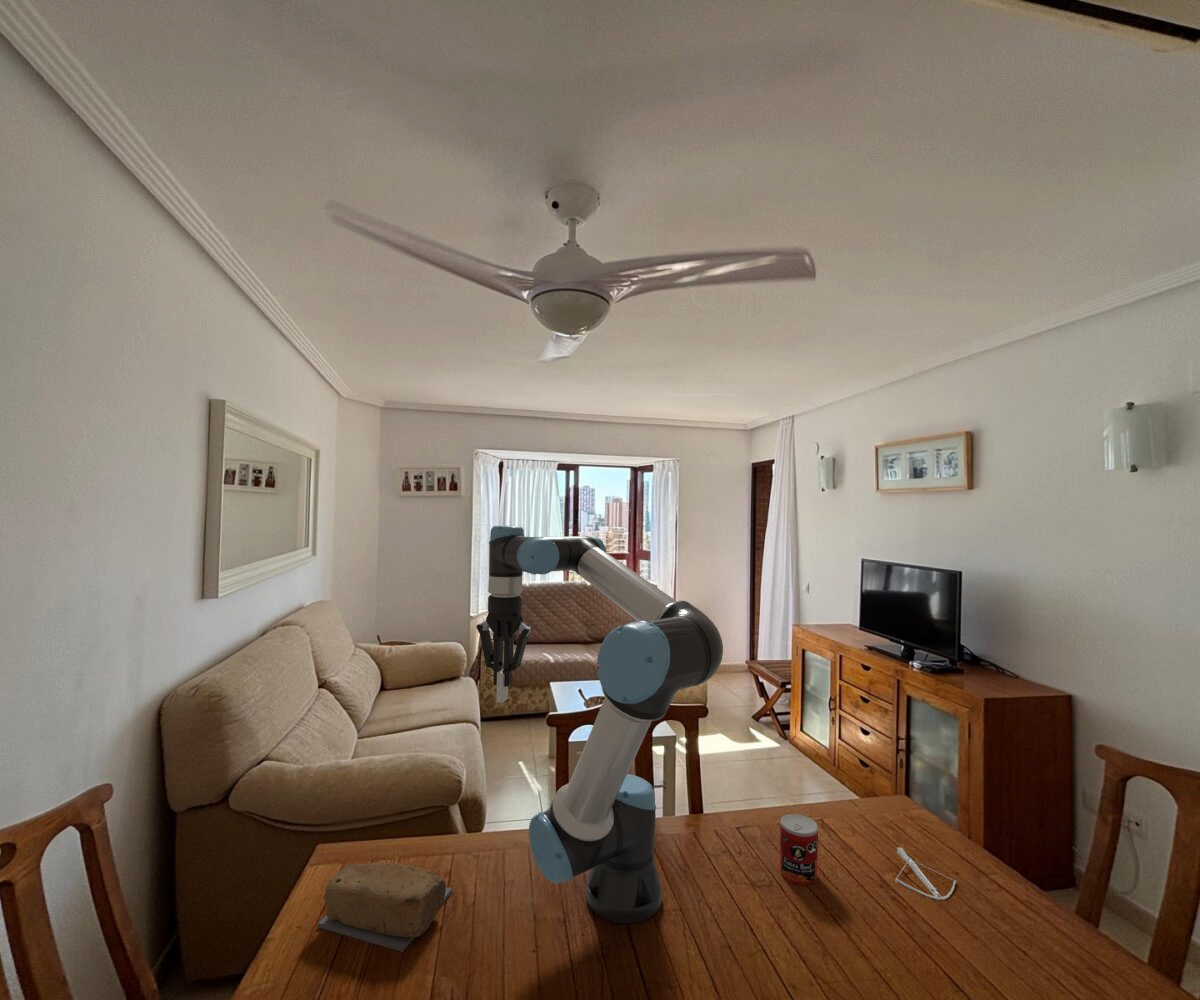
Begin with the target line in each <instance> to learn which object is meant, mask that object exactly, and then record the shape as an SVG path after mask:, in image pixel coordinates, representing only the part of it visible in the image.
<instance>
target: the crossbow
mask: <svg viewBox="0 0 1200 1000" xmlns="http://www.w3.org/2000/svg"><path fill="white" fill-rule="evenodd" d="M896 853H897V854H898V855H899V857H901V859H902V860H903V861H904V862H905V865H904V866H903V868H902V869H901V870H900V871H899V873H898V875H897V877H895V882H896V883H897V884H899V885H901V886H903V887H905V888H907V889H909V890H910V891H913V892H916V893H918V894H920V895H922V896H925V897H927V898H929V899H933V900H936V901H945V900H947V899H949V898H950V897H951V896H950V895H952V894H953V892H954V890H955V887H956V885H957V880H955V879H953V878H951V877H949V876H946V875H944V874H942V873H940V872H938V871H936V870H933V869H932V868H930V867H928V866H925V865H923V864H921V863H918V862H917V861H915V860H913V859H912V858H911V857H910V856H909V855H908V854H907V852H906V851H905V850H904V848H903V847H896ZM917 864H918V865H919V866H922V867H924V868H927V869H929V870H930V871H933V872H935V873H937V874H939V875H942V876H943V877H946V878H948V879H950V880H952V881H953V883H952V887H951V888H950V891H949V892H948V893H947V894H946V895H943V896H941V893H939V892H938V890H937V887H934V885H933V884H932V883H931V881H930V880H929V879H928V878H927V877H926V875H925V874H924V873H923V871H922V870H921V869H920V867H919V866H918V865H917ZM907 865H908V866H909V867H910V869H911V870H912V871H913V872H914V874H915V875H916V876H917V877H918V879H920V881H921V882H922V883H923V884H924V885H925V887H926V888H927V889H928V890H929V891H930V893H932V895H931V894H928V893H925V892H924V891H921V890H919V889H917V888H915V887H913V886H911V885H909V884H907V883H905V882H903V881H902V880H900V879H898V878H899V876H900V875H901V873H902V871H904V869H905V867H906V866H907Z"/></svg>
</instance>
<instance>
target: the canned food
mask: <svg viewBox="0 0 1200 1000" xmlns="http://www.w3.org/2000/svg"><path fill="white" fill-rule="evenodd" d="M818 827H819V826H818V823H817V822H816V821H815V820H814V819H812V818H811V817H808V816H805V815H803V814H800V813H799V814H796V813H788V814H785V815H783V816H781V819H780V828H779V830H780V834H779V871H780V873H781V876H782V877H783V878H784V879H785V880H786V881H788V882H789V883H792V884H795V885H798V886H811V885H812V884H814V883H815V882H816V879H817V877H818V852H819V851H818V848H819V847H818V846H819V828H818Z"/></svg>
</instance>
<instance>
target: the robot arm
mask: <svg viewBox="0 0 1200 1000" xmlns="http://www.w3.org/2000/svg"><path fill="white" fill-rule="evenodd" d="M489 533H490V535H489V536H490V537H489V541H488V545H489V546H488V547H489V548H488V549H489V550H488V554H489V555H488V585H487V586H488V587H487V592H488V593H489V594H490V595H488V596H487V613H488V614H487V615H486V619H485V620H484V621H483V622H481V623H479V624H476V630H477V632H478V634H479V637H480V641H481V642H480V643H481V647H482V653H483V658H484V663H485V667H486V668H488V669H492V670H493V685H494V686H496V695H495V697H496V701H495V702H496V703H504V702H506V701H507V700H508V699H509V687H510V686H511V685H512V684H513V672H514V671H516V670H518V669H519V668H521V666H522V661H523V659H524V655H525V654H524V653H525V650H526V647H527V641H528V638H529V636H530V635H531V633H532V632H533V627H532V626H527V625H526V624H525V622H524V620H523V619H524V618H523V616H522V610H523V608H522V607H523V606H522V603H523V602H522V601H523V597H522V595H520V594H522V593H523V574H524V573H527V574H530V575H547V574H549V573H552V572H565V571H566V572H567V571H572V572H574V573H576V574H577V575H579V576H580V577H581V578H583V580H585V581H586V582H588V583H589V584H590V585H591V586H592V587H594V588H595V589H596V590H598V592H600V593H601V594H602V595H604V597H606V598H607V599H609V600H610V601H611V602H613V603H614V604H615V605H616V606H618V608H620V609H621V610H622V611H624V612H625V613H627V614H628V615H629V616H630V617H631V618H633V619H634V620H636V621H633V622H629V623H627V624H624V625H620V626H617V627H616V628H614V629H612V630H611V631H610V632H609V633H608V634H607V635H606V636H605V638H604V640H603V641H602V643H601V645H600V647H599V650H598V654H597V659H596V665H599V669H598V670H597V676H598V681H599V683H600V686H601V690H602V694H603V696H604V699H603V701H602V704H601V707H600V708H599V712H598V713H597V716H596V719H595V720H594V724H593V725H592V728H591V731H590V733H589V735H588V738H587V739H586V743H585V744H584V747H583V750H582V752H581V755H580V756H579V759H578V761H577V764H576V766H575V768H574V771H573V774H572V775H571V778H570V780H569V783H566V784H565V785H562V786H561V787H560V788H559V789H558V790H557V791H556V793H555V795H554V796H553V799H552V802H551V803H550V807H549V808H548V809H547V810H545V811H539V812H538V813H537V814H535V815H533V817H532V818H531V819H530V822H529V826H528V838H529V843H530V844H529V845H530V849H531V853H532V856H533V859H534V861H535V863H536V866H537V867H538V870H539V871H540V873H541V874H542V875H543V877H544V878H545V879H546V880H547V881H549V882H551V883H552V884H555V885H556V884H558V885H559V884H562V883H565V882H566V881H567V882H568V881H571V880H573V879H574V878H576V877H578V876H579V875H581V874H584V873H585V872H587V871H589V870H590V872H589V874H588V877H587V881H586V887H585V888H586V890H585V891H586V894H585V895H586V896H585V897H586V901H587V904H588V906H589V908H591V910H592V911H593V912H594V913H595V914H596V915H598V916H600V917H601V918H603V919H605V920H608V921H611V922H614V923H620V924H635V923H639V922H640V923H641V922H643V921H645V920H648V919H649V918H651V917H653V916H654V915H656V913H658V912H659V909H660V908H661V906H662V900H663V898H662V896H663V888H662V883H661V879H660V875H659V872H658V869H657V865H656V861H655V834H656V832H655V831H656V809H657V805H656V792H655V789H654V787H653V786H652V784H650V782H649V781H647V780H645V778H642V777H640V776H637V775H634V774H629V771H630V769H631V767H632V765H633V763H634V761H635V758H636V756H637V753H638V752H639V750H640V748H641V745H642V743H643V741H644V739H645V737H646V734H647V732H648V730H649V728H650V726H651V724H652V722H654V721H655V722H656V721H659V720H661V719H662V718H663V717H665V715H666V714H667V712H668V710H669V707H670V706H671V704H672V702H673V700H674V698H675V695H676V694H677V693H678V692H679V691H681V690H684V689H687V688H692V687H695V686H696V687H697V686H700V685H702V684H705V683H706V682H707V681H708V680H710V679H711V678H712V677H713V676H714V675H715V674H716V672H717V671H718V669H719V668H720V665H721V663H722V660H723V655H724V645H723V639H722V637H721V634H720V632H719V630H718V628H717V626H716V625H715V623H714V622H713V621H712V620H711V619H710V617H708V615H706V614H705V613H704V612H703V611H701V610H700V609H699V608H697V607H696V606H695V605H692V604H691V603H690V602H689V601H686V600H676V599H674V598H673V597H671V596H670V595H668V593H666V592H665V591H663V590H661V589H660V588H658V587H657V586H656V585H655V584H652V583H651V582H650V581H648V580H647V579H645V578H644V577H642V575H640V574H638V573H636V571H634V570H632V569H631V568H630V567H628V566H627V565H625V564H623V562H621V561H619V560H618V559H616V558H615V557H613V556H612V555H611V554H609V553H607V549H606V548H607V547H606V545H605V544H604V541H603V540H602V539H601V538H600V537H597V536H592V535H591V536H590V535H579V536H578V535H576V536H572V535H571V536H525V532H524V528H523V527H522V526H520V525H494V526H492V527H491V529H490V532H489ZM490 631H491V632H490ZM517 632H518V633H519V636H518V639H517V642H516V647H514V646H515V638H516V633H517ZM491 633H492V636H491ZM492 642H493V643H492ZM514 649H515V651H514Z"/></svg>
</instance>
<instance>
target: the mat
mask: <svg viewBox="0 0 1200 1000" xmlns="http://www.w3.org/2000/svg"><path fill="white" fill-rule="evenodd" d="M452 894H453V888H450V887H446V891H445V896H444V900H443V902H442V904H441V906H440V907H439V909H440V908H441V907H442V906H443V904H444V903H445V902H446V901H447V899H448V898H449V897H450V896H451V895H452ZM317 928H319V929H322V930H326V931H330V932H333V933H336V934H339V935H343V936H346V937H349V938H354V939H357V940H360V941H364V942H367V943H370V944H373V945H374V944H375V945H378V946H380V947H381V946H382V947H384V948H389V949H391V950H395V951H399V952H401V953H403V952H404V951H405V949H407V948H408V946H410V944H411V943H412V942H413V940H414V939H415V938H410V937H398V936H393V935H387V934H381V933H378V932H376V931H369V930H364V929H360V928H356V927H353V926H349V925H346V924H343V923H342V922H340V920H332V919H329V918H328V917H327V914H326V915H325V916H324V917H323V918H322V919H321V920H320V921H319V922H318V924H317Z"/></svg>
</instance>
